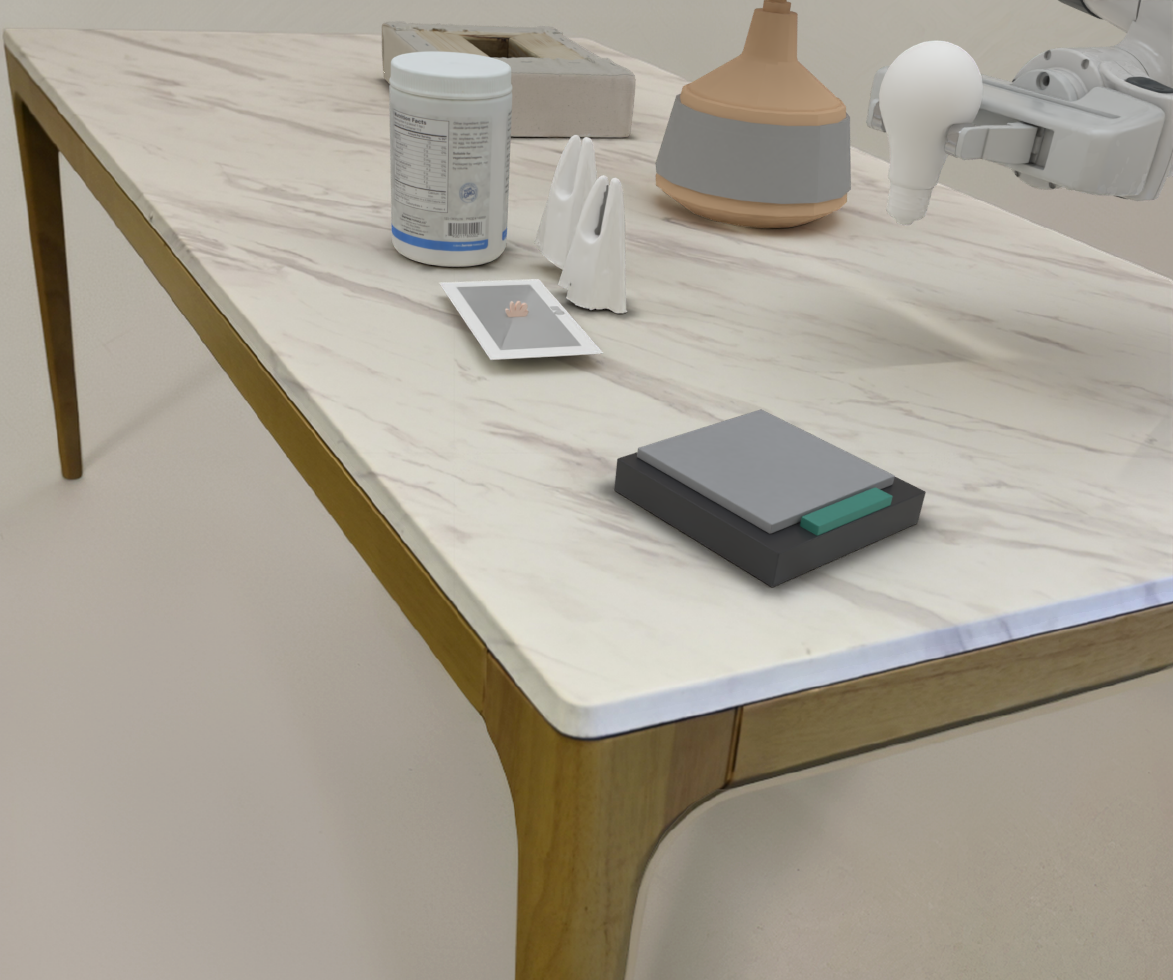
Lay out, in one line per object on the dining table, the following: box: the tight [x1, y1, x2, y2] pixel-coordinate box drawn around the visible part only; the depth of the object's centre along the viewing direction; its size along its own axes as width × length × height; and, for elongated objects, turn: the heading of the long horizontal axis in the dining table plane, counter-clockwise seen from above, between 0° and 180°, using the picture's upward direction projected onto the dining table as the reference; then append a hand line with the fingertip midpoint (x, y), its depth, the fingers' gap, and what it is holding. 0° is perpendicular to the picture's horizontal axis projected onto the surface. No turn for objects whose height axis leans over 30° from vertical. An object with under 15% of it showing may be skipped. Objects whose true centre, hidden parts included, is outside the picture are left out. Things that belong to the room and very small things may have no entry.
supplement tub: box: [388, 51, 512, 268], centre depth 97 cm, size 10×10×15 cm
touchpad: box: [438, 278, 604, 361], centre depth 87 cm, size 8×15×2 cm, turn 19°
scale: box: [613, 408, 927, 588], centre depth 67 cm, size 12×12×3 cm
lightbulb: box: [879, 39, 983, 226], centre depth 76 cm, size 6×6×11 cm
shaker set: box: [533, 135, 628, 314], centre depth 93 cm, size 12×4×11 cm, turn 19°
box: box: [381, 20, 636, 138], centre depth 148 cm, size 23×8×32 cm
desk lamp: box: [654, 0, 852, 229], centre depth 110 cm, size 22×19×37 cm
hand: (913, 128), depth 75 cm, fingers closed on lightbulb, 6 cm apart
